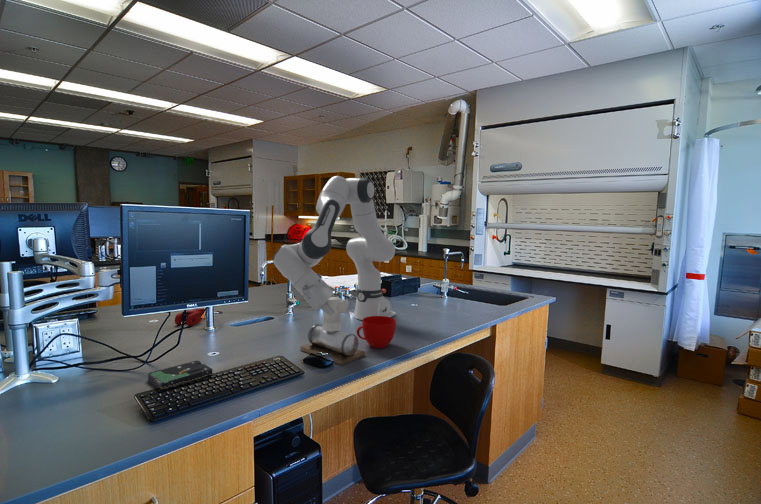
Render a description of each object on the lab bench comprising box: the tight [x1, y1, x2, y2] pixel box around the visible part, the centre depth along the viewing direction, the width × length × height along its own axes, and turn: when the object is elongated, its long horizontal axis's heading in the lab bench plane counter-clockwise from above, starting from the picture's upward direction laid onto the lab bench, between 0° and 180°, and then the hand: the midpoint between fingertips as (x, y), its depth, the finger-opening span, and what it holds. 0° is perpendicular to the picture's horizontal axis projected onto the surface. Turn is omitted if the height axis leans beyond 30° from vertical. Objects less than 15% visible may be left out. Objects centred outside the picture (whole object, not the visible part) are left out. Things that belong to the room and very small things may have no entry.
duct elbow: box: [322, 296, 349, 331], centre depth 142 cm, size 6×9×11 cm
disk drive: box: [147, 359, 213, 389], centre depth 119 cm, size 10×3×15 cm
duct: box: [300, 323, 366, 366], centre depth 143 cm, size 12×21×12 cm, turn 51°
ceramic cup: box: [356, 316, 397, 349], centre depth 152 cm, size 13×17×10 cm
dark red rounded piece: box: [174, 308, 206, 327], centre depth 179 cm, size 16×7×5 cm, turn 172°
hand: (334, 311), depth 142 cm, fingers open, 7 cm apart
